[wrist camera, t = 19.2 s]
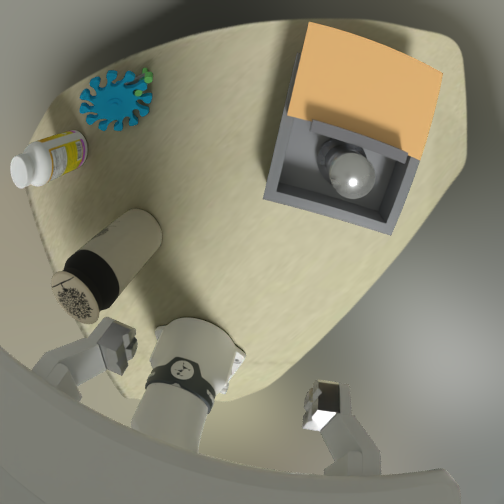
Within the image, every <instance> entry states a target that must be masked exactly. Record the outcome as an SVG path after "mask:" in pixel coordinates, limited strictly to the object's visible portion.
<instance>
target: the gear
mask: <svg viewBox="0 0 504 504" xmlns="http://www.w3.org/2000/svg"><path fill="white" fill-rule="evenodd" d="M147 71H148V69H147V68H143V69H142V74H140V75H139V76H137V77H135V74H134V73H133V72H131V71H127V72H126V73H125V76H124V78H123V79H122V80H121V81H117V82H116V83H115V84H113V83H112V81H113V80H115V79H116V77H117V71H115V70H109V71H108V72H107V76H106V78H107V85H106V86H105V87H104V88H101V87H99V84H100V80H101V79H100V77H99V76H98V77H95V78H93V79H91V80H90V86H91V87H93V88H94V89H95V91H96V94H97V95H96V96H92V95H91V94H90V90H89V89H84V90H83V91H82V93H81V95H80V99H82V100H87V101H90V102H91V103H92V104H93V105H94V106H89V105H88V104H87V103H85V102H84V103H82V104H81V106H80V113H82V114H83V113H86V112H94V113H97V115H93V114H89V115H87V117H86V121H87V123H88V124H89V125H91V124H93V123H94V122H95V121H97V120H99V119H107V120H105V121H101V122H100V123H99V126H98V128H99V129H100V130H103V131H105V130H106V129H107V126H108V124H109V123H110V122H112V121H113V120H118V121H117V122H116V123H115V124H114V130H116V131H122V129H123V123H122V121H123V119H124V117H127V116H128V117H130V119H129V125H130V126H134V125H137V124H138V118H137V117H136V116H135V115H134V114H133V110H134V109H138V110H139V112H140V115H141V116H142V117H144V116H145V115H147V114H148V113H149V107H147V106H143V105H141V104H139V103H138V102H137V100H138V99H141V100H143V101H144V103H147V104H149V103H150V102H151V100H152V93H144V94H142V93H143V91H144V90H146V89H147V84H149V83H151V82H152V80H153V73H152V72H147ZM126 82H127V83H126ZM124 83H125V84H124ZM134 91H135V92H134Z"/></svg>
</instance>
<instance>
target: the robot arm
mask: <svg viewBox="0 0 504 504" xmlns="http://www.w3.org/2000/svg"><path fill="white" fill-rule="evenodd" d="M135 335H136V329H135V328H133V327H130V326H128V325H126V324H123V323H121V322H119V321H116V320H114V319H112V318H110V317H105V318H103V320H102V321H101V322H100V323H99V324H98V326H97V327H96V328H95V329H94V331H93V332H92V333H91V334H90V336H89V337H88V338H83V339H80V340H77V341H75V342H72V343H69V344H67V345H64V346H62V347H59V348H56V349H54V350H51V351H48V352H46V353H45V354H44V355H43V356H42V357H41V359H40V360H39V361H38V362H37V364H36V365H35V366H34V367H33V369H32V370H30V369H29V368H27V367H26V366H24V365H23V364H22V363H21V362H19V361H18V360H17V359H15V358H14V357H13V356H12V355H11V354H9V353H8V352H7V351H6V350H5V349H3V348H2V347H1V346H0V504H461V493H460V488H459V485H458V484H457V482H456V481H455V480H454V479H453V478H452V476H451V475H450V474H449V473H448V472H447V471H446V470H445V469H442V468H440V469H439V468H438V469H432V470H425V471H418V472H410V473H402V474H389V475H381V456H380V450H379V449H378V447H377V446H376V445H375V443H374V442H373V440H372V439H371V438H370V436H369V435H368V433H367V432H366V431H365V429H364V428H363V426H362V425H361V424H360V422H359V421H358V420H357V418H356V417H355V415H352V411H351V396H350V386H349V384H342V383H337V382H331V381H324V380H315V382H314V383H313V388H311V389H309V391H308V392H307V395H306V397H305V402H304V408H305V410H306V413H305V415H304V416H303V427H302V428H304V429H310V430H316V431H320V433H321V435H322V437H323V439H324V441H325V443H326V445H327V447H328V449H329V451H330V453H331V455H332V457H333V459H334V461H335V462H334V463H333V464H331V465H330V466H328V467H327V468H325V469H324V475H317V474H305V473H295V472H286V471H280V470H273V469H266V468H260V467H255V466H250V465H245V464H240V463H235V462H231V461H227V460H223V459H219V458H215V457H212V456H208V455H204V454H201V453H198V448H199V442H200V438H201V434H202V430H203V427H204V423H205V420H206V416H207V414H209V413H210V411H211V409H212V407H213V404H214V399H215V396H216V395H217V394H218V393H222V394H226V392H227V389H228V386H229V380H230V379H231V378H232V376H233V375H234V374H235V372H236V371H237V369H238V368H239V367H240V365H241V364H242V363H243V361H244V360H245V357H246V354H245V353H244V352H243V351H242V350H240V349H239V348H238V347H236V346H235V344H234V343H233V341H232V340H231V338H230V337H229V336H228V335H227V334H226V333H225V332H224V331H223V330H222V329H220V328H219V327H217V326H215V325H214V324H211V323H209V322H207V321H204V320H201V319H196V318H179V319H176V320H174V321H172V322H171V323H169V324H168V325H166V326H159V327H157V328H156V330H155V335H156V338H157V343H156V346H155V348H154V350H153V352H152V355H151V357H150V362H151V366H152V368H153V370H152V372H151V374H150V375H149V377H148V379H147V383H146V385H145V389H146V391H145V393H144V395H143V397H142V399H141V401H140V403H139V405H138V408H137V410H136V412H135V414H134V416H133V418H132V422H131V427H132V428H130V427H128V426H125V425H123V424H121V423H119V422H117V421H115V420H113V419H111V418H109V417H107V416H105V415H103V414H101V413H99V412H97V411H95V410H93V409H91V408H89V407H88V406H86V405H84V404H82V403H81V402H79V401H80V400H81V398H82V396H81V393H80V391H79V389H78V387H77V386H79V385H80V384H82V383H84V382H86V381H88V380H89V379H91V378H93V377H95V376H97V375H98V374H100V373H102V372H104V371H106V369H108V370H110V371H112V372H114V373H117V374H119V375H121V376H122V375H123V373H124V372H125V370H126V368H127V367H128V360H130V359H132V358H133V357H134V355H135V353H136V350H137V344H138V343H137V339H136V338H135V337H134V336H135Z"/></svg>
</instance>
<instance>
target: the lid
mask: <svg viewBox="0 0 504 504" xmlns="http://www.w3.org/2000/svg"><path fill="white" fill-rule="evenodd" d="M442 76H443V73H442V72H440V71H438V70H436V69H434V68H432V67H431V66H429V65H427V64H425V63H423V62H421V61H419V60H417V59H415V58H413V57H410V56H408V55H406V54H404V53H402V52H399V51H397V50H395V49H392V48H390V47H388V46H385V45H383V44H380V43H377V42H375V41H372V40H369V39H367V38H364V37H361V36H358V35H355V34H352V33H349V32H346V31H342V30H339V29H336V28H332V27H328V26H325V25H321V24H317V23H313V22H309V24H308V28H307V32H306V37H305V41H304V45H303V50H302V54H301V58H300V62H299V67H298V71H297V75H296V79H295V84H294V88H293V92H292V96H291V101H290V105H289V109H288V113H287V116H292V117H296V118H300V119H303V120H307V121H311V125H310V129H309V130H310V132H313V133H317V134H320V135H324V136H327V137H331V138H334V139H337V140H340V141H343V142H347V143H350V144H353V145H356V146H359V147H361V148H364V149H367V150H370V151H373V152H375V153H378V154H381V155H384V156H386V157H389V158H391V159H394V160H396V161H399V162H401V163H404V164H405V162H406V159H407V156H408V155H409V156H411V157H413V158H416V159H418V160H420V159H421V156H422V153H423V150H424V147H425V144H426V140H427V137H428V134H429V130H430V127H431V123H432V119H433V115H434V112H435V108H436V103H437V99H438V95H439V91H440V86H441V81H442Z"/></svg>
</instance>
